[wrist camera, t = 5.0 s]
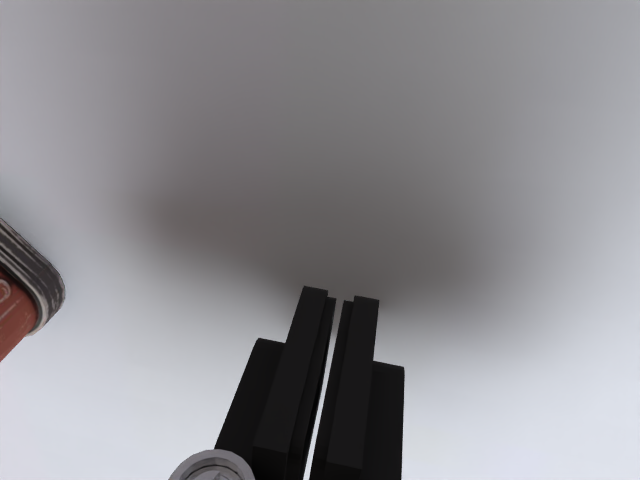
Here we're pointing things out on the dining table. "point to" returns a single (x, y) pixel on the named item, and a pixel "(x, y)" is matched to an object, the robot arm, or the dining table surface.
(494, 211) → the dining table surface
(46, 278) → the lighter
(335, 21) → the dining table surface
